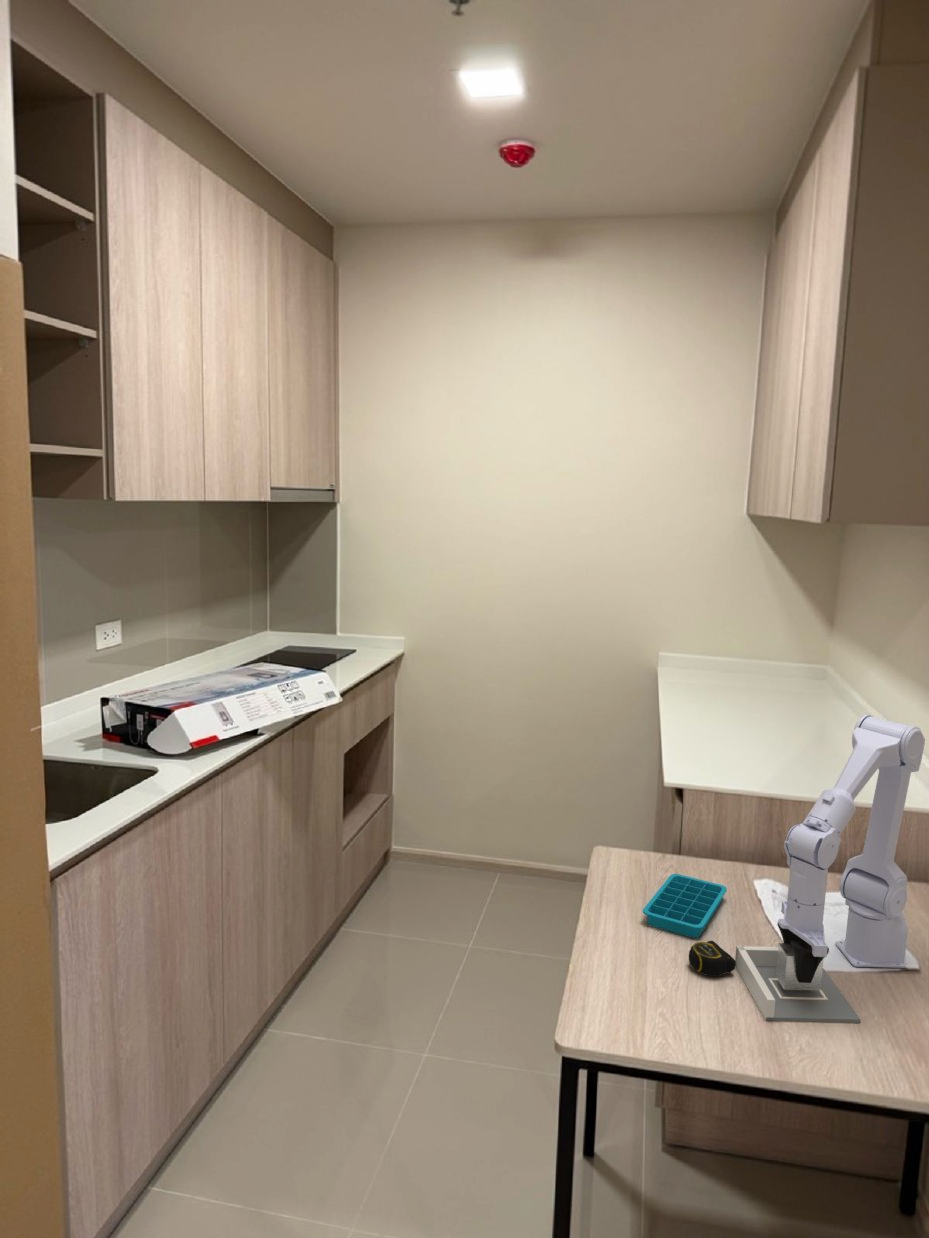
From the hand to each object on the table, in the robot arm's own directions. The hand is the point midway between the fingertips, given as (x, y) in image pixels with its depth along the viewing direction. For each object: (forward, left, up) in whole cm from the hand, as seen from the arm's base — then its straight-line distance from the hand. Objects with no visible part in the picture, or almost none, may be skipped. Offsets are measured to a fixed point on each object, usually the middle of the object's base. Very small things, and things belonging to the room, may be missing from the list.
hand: (798, 973), depth 145 cm
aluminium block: (0, 0, -2) cm, 2 cm away
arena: (+1, 0, -3) cm, 3 cm away
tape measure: (+13, -7, -4) cm, 15 cm away
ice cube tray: (+12, -27, -4) cm, 30 cm away
